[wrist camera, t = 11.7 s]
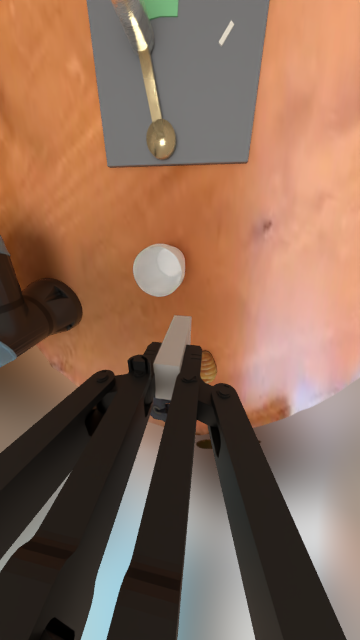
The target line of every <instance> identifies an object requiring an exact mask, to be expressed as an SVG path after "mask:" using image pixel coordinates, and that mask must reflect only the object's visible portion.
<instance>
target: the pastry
mask: <svg viewBox="0 0 360 640" xmlns="http://www.w3.org/2000/svg"><path fill="white" fill-rule="evenodd" d="M216 373H217V370H216V365H215V362H214V360H213V357H212V355H211V354H210V353H209V352H208V351H203V352H202V361H201V373H200V376H201V379H202V380H203V381H204V382H205V383H208V382H212V381H213V380H214V379H215V376H216Z"/></svg>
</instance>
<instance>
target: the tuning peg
mask: <svg viewBox="0 0 360 640" xmlns="http://www.w3.org/2000/svg"><path fill="white" fill-rule="evenodd" d="M111 2H112V5H113V7H114V9H115V11H116V13H117V16H118V18H119V20H120V22H121V24H122V27H123V29H124V31H125V33H126V35H127V38H128V40H129V42H130V44H131V46H132V49H133V51H134V53H135V54H136V55H137V56H138V57H139V59H140V64H141V69H142V74H143V79H144V83H145V88H146V93H147V98H148V103H149V108H150V113H151V118H152V123H151V125H150V126H149V128H148V131H147V136H146V141H147V146H148V149H149V151H150V152H151V153H152V154H153V156H154V157H155V158H157V159H159V160H165V159H168V158H169V157H170V156H171V155H172V154H173V152H174V150H175V147H176V135H175V132H174V129H173V127H172V125H171V124H170V123H169V122H168V121H167V120H165V119H163V118H162V113H161V107H160V102H159V97H158V91H157V86H156V81H155V75H154V70H153V64H152V59H151V54H150V53H151V51H152V49H153V45H154V33H153V29H152V26H151V23H150V20H149V16H148V13H147V10H146V7H145V3H144V0H111Z"/></svg>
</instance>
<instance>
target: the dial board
mask: <svg viewBox="0 0 360 640" xmlns="http://www.w3.org/2000/svg"><path fill="white" fill-rule="evenodd" d="M144 3H145V7H146V10H147V13H148V16H149V20H150V23H151V26H152V29H153V33H154V45H153V49H152V51H151V53H150V54H151V59H152V64H153V70H154V75H155V81H156V86H157V91H158V97H159V102H160V107H161V113H162V118H163V119H165V120H167V121H168V122H169V123H170V124H171V125H172V127H173V129H174V132H175V135H176V147H175V150H174V152H173V154H172V155H171V156H170V157H169V158H168V159H165V160H159V159H157V158H155V157H154V156H153V154H152V153H151V152H150V151H149V149H148V146H147V141H146V136H147V131H148V128H149V126H150V125H151V123H152V118H151V113H150V108H149V103H148V98H147V93H146V88H145V83H144V79H143V74H142V69H141V64H140V59H139V57H138V56H137V55H136V54H135V53H134V51H133V49H132V46H131V44H130V42H129V40H128V38H127V35H126V33H125V31H124V29H123V27H122V24H121V22H120V20H119V18H118V16H117V13H116V11H115V9H114V7H113V5H112V2H111V0H87V7H88V15H89V23H90V31H91V39H92V47H93V55H94V62H95V70H96V78H97V86H98V94H99V102H100V110H101V118H102V126H103V134H104V142H105V149H106V157H107V165H108V167H110V168H113V167H144V166H175V165H206V164H237V163H247V162H248V156H249V149H250V141H251V134H252V126H253V119H254V111H255V104H256V97H257V89H258V82H259V74H260V67H261V59H262V52H263V44H264V37H265V30H266V22H267V15H268V7H269V0H144Z"/></svg>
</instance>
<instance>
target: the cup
mask: <svg viewBox="0 0 360 640" xmlns="http://www.w3.org/2000/svg"><path fill="white" fill-rule="evenodd" d="M133 274H134V278H135V280H136V282H137V284H138V286H139V287H140V288H141V289H142V290H143V291H144V292H146V293H147V294H149V295H152V296H156V297H162V296H167V295H169V294H171V293H173V292H174V291H175V290H176V289H177V288H178V287H179V285H180V284H181V283H182V281H183V279H184V275H185V258H184V255H183V253H182V252H181V251H180V250H179V249H178V248H176V247H173V246H170V245H166V244H154V245H151V246H149V247H147V248H145V249H144V250H142V251H141V252H140V253H139V254H138V255H137V257H136V259H135V261H134V265H133Z"/></svg>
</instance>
